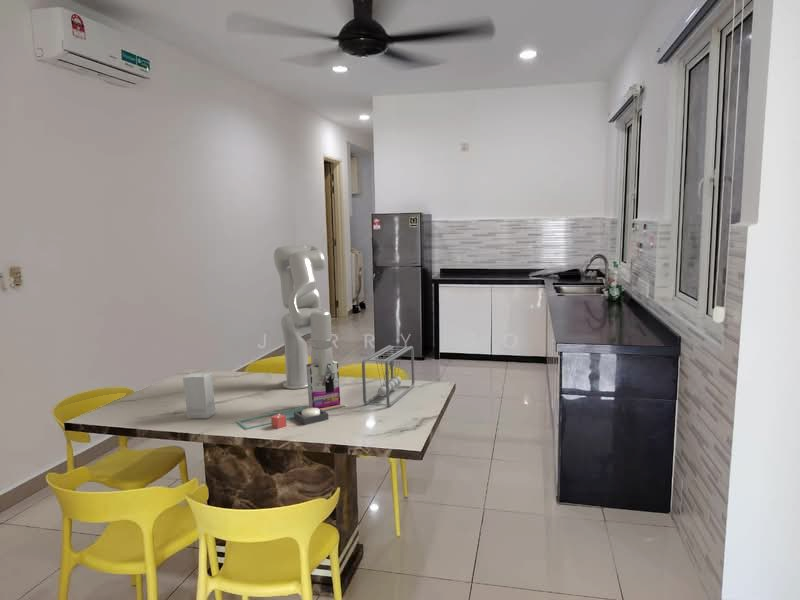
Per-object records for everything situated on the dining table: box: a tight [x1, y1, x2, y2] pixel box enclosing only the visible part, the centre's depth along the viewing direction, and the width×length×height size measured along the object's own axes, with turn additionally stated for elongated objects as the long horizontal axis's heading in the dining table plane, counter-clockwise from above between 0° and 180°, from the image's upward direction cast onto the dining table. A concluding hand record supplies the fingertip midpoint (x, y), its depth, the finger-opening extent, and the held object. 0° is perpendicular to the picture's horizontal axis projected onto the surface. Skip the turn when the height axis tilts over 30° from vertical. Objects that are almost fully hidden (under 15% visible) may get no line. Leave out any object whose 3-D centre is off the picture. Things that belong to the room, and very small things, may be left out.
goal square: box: [305, 403, 345, 411], centre depth 211 cm, size 8×12×1 cm, turn 125°
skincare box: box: [182, 372, 217, 419], centre depth 204 cm, size 8×7×16 cm
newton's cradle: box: [361, 344, 416, 408], centre depth 222 cm, size 30×10×18 cm, turn 160°
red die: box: [270, 414, 287, 430], centre depth 191 cm, size 4×4×4 cm
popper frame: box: [294, 407, 329, 426], centre depth 198 cm, size 9×9×2 cm
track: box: [235, 405, 346, 430], centre depth 204 cm, size 10×38×1 cm, turn 125°
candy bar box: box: [306, 359, 341, 408], centre depth 210 cm, size 11×5×16 cm, turn 119°
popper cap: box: [302, 408, 320, 417], centre depth 198 cm, size 6×6×2 cm
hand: (324, 389), depth 210 cm, fingers open, 8 cm apart
